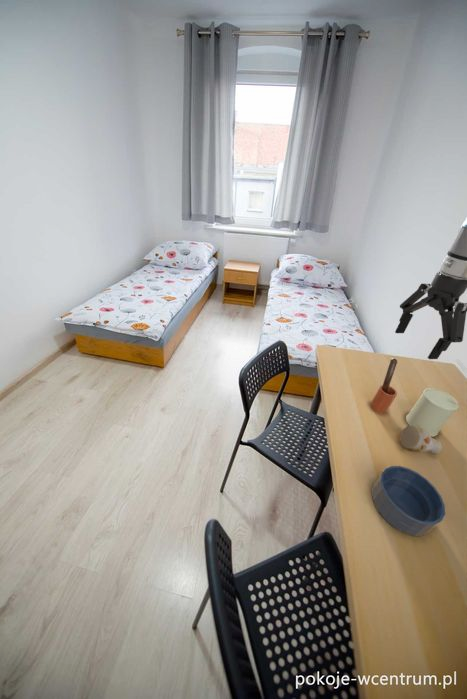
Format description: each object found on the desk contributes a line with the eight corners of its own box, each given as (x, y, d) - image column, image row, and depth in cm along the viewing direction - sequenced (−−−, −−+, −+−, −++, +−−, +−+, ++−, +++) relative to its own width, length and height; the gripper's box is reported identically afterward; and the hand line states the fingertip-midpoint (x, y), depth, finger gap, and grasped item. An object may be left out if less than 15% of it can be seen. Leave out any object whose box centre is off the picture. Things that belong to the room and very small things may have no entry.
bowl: (430, 498, 67) (444, 485, 64) (431, 550, 58) (446, 538, 54) (375, 470, 72) (384, 456, 69) (366, 513, 63) (377, 500, 59)
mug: (443, 463, 76) (446, 445, 70) (402, 460, 81) (401, 444, 75) (437, 438, 81) (439, 419, 75) (399, 436, 86) (398, 419, 80)
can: (441, 440, 83) (464, 413, 76) (408, 430, 85) (428, 402, 78) (434, 418, 90) (454, 392, 83) (403, 410, 92) (421, 383, 85)
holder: (387, 406, 93) (397, 389, 88) (385, 416, 89) (396, 398, 84) (371, 400, 95) (381, 382, 90) (369, 409, 91) (379, 391, 86)
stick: (382, 406, 92) (398, 358, 82) (381, 409, 90) (397, 361, 81) (376, 404, 93) (391, 356, 83) (375, 407, 91) (390, 359, 82)
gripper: (407, 259, 79) (378, 323, 91) (488, 295, 59) (437, 372, 71) (429, 260, 81) (397, 323, 93) (515, 295, 61) (460, 370, 73)
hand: (414, 344), depth 82 cm, fingers open, 13 cm apart
